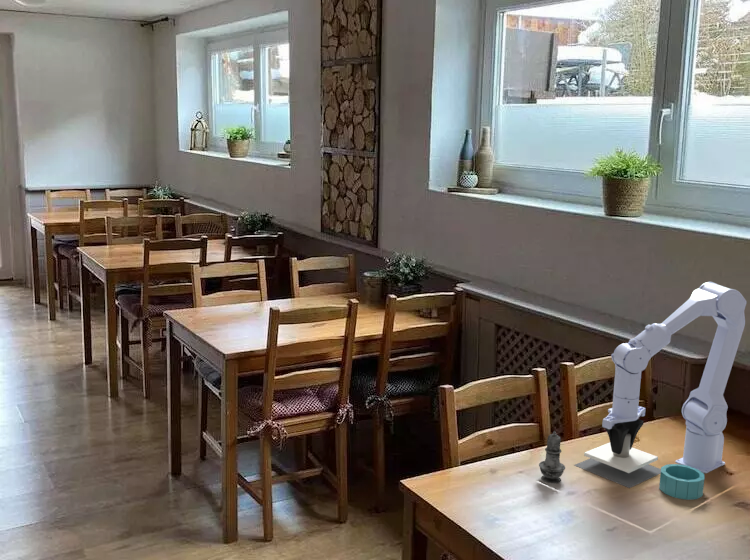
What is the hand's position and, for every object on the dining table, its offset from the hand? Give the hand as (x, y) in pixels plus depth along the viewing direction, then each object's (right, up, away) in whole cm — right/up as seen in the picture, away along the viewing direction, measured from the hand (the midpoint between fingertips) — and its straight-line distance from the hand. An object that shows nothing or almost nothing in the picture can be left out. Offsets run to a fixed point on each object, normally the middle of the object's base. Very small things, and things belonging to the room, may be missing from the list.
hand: (621, 450), depth 187 cm
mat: (0, -5, +1) cm, 5 cm away
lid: (0, -2, 0) cm, 2 cm away
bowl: (+10, -7, -10) cm, 16 cm away
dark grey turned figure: (-18, -6, -6) cm, 20 cm away
